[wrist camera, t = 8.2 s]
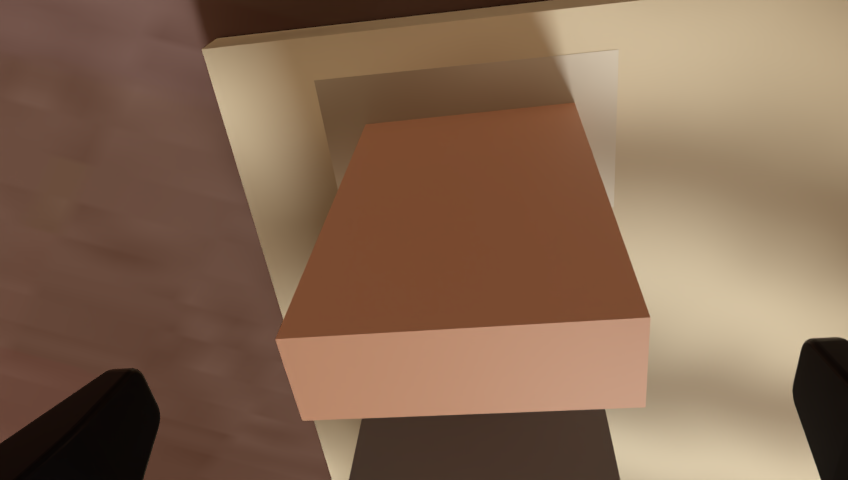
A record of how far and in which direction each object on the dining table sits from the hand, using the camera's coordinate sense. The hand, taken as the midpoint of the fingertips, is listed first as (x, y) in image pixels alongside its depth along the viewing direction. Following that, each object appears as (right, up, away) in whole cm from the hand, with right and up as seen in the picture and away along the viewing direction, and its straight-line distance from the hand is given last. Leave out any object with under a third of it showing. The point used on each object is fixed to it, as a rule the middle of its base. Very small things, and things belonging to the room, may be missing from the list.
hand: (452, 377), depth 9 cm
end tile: (+1, +4, +7) cm, 8 cm away
